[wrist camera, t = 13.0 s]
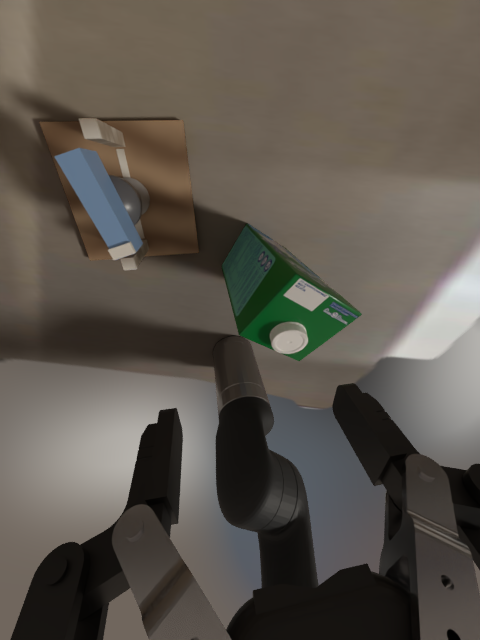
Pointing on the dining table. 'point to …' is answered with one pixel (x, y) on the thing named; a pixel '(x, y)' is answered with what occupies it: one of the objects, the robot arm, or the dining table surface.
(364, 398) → the robot arm
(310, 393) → the dining table surface
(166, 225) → the base plate
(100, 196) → the blue long block
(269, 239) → the milk carton
